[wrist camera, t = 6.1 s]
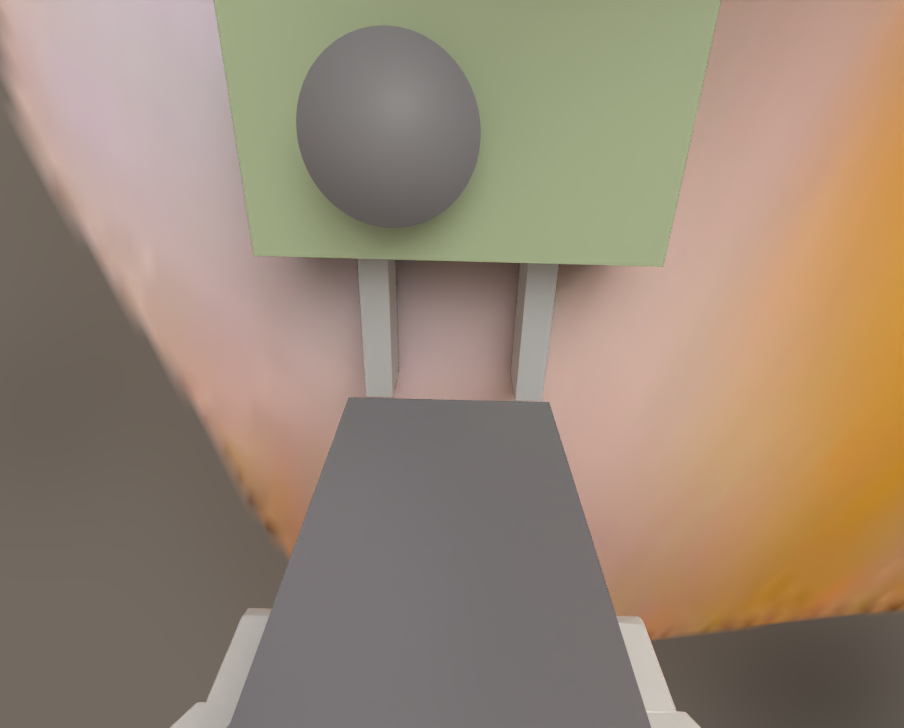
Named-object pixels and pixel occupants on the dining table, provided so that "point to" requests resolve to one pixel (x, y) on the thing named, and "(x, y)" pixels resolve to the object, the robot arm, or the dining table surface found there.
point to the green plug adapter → (464, 141)
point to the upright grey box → (443, 583)
